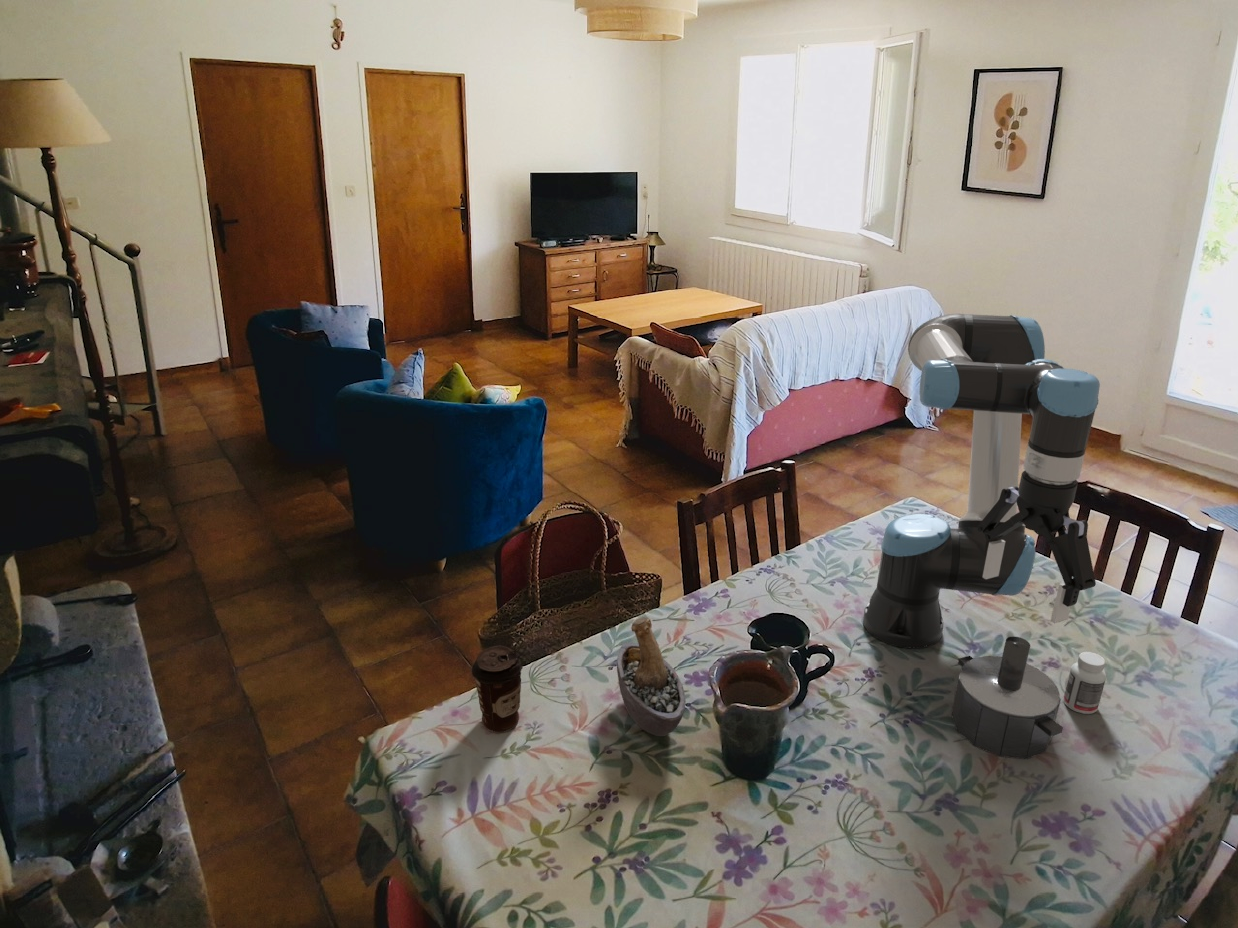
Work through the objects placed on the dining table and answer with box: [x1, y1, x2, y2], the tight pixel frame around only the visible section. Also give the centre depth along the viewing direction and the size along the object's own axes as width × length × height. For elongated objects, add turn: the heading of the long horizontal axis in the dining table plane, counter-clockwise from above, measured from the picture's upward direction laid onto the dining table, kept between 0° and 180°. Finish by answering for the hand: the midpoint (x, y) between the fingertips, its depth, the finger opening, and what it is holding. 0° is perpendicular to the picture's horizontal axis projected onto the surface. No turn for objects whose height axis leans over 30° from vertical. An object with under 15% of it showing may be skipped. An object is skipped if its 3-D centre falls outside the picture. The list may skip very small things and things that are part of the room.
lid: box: [959, 636, 1061, 718], centre depth 137 cm, size 15×15×10 cm
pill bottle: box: [1063, 651, 1107, 715], centre depth 145 cm, size 5×5×10 cm
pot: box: [951, 655, 1064, 760], centre depth 140 cm, size 20×15×8 cm
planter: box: [616, 616, 687, 737], centre depth 140 cm, size 15×17×20 cm
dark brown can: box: [471, 644, 524, 734], centre depth 141 cm, size 9×8×13 cm
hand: (1023, 597), depth 133 cm, fingers open, 13 cm apart
